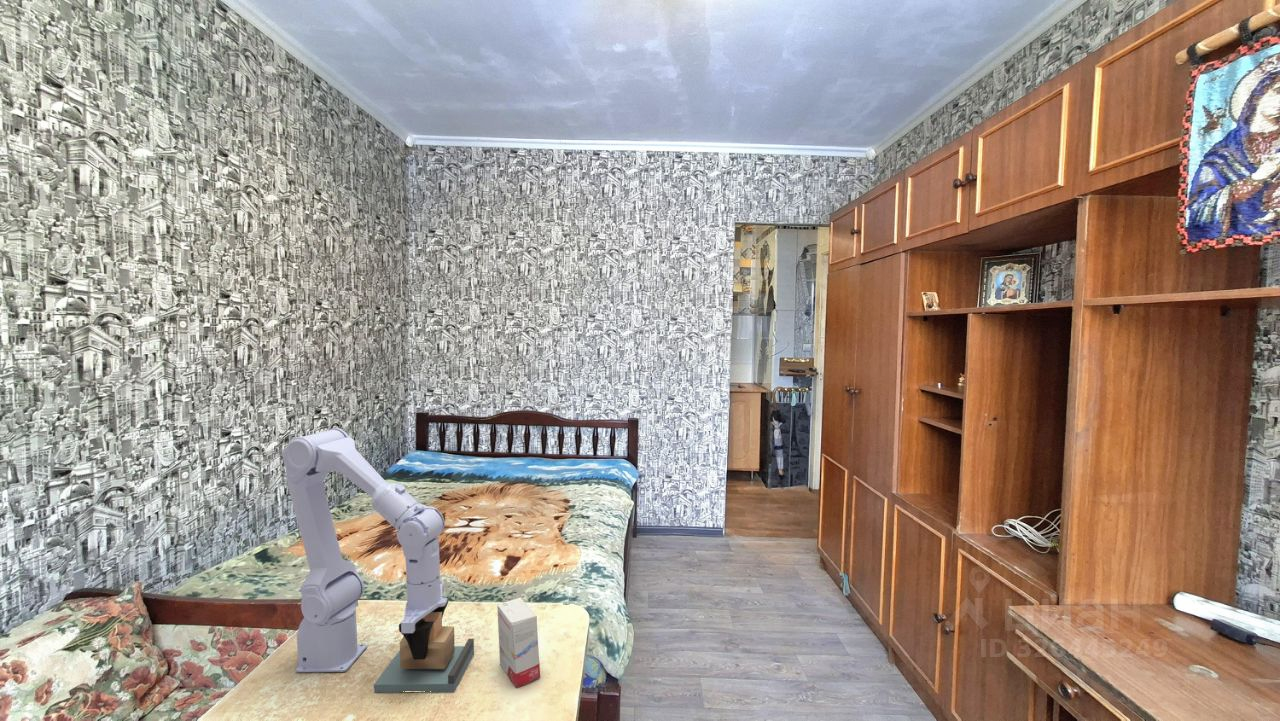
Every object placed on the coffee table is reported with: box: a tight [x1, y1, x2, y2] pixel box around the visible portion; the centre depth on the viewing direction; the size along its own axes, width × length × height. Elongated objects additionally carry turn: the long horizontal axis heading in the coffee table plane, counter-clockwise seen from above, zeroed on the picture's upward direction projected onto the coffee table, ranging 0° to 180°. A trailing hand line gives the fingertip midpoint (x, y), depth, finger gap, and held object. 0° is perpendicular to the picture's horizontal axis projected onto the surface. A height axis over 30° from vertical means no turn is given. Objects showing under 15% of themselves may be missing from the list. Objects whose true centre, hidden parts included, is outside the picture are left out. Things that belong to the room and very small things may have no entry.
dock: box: [373, 638, 475, 694], centre depth 98 cm, size 14×11×3 cm
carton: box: [423, 612, 443, 640], centre depth 98 cm, size 4×4×3 cm
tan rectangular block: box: [399, 625, 456, 669], centre depth 98 cm, size 8×5×5 cm, turn 90°
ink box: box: [496, 597, 541, 688], centre depth 98 cm, size 9×5×12 cm, turn 33°
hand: (426, 649), depth 98 cm, fingers closed on tan rectangular block, 5 cm apart
